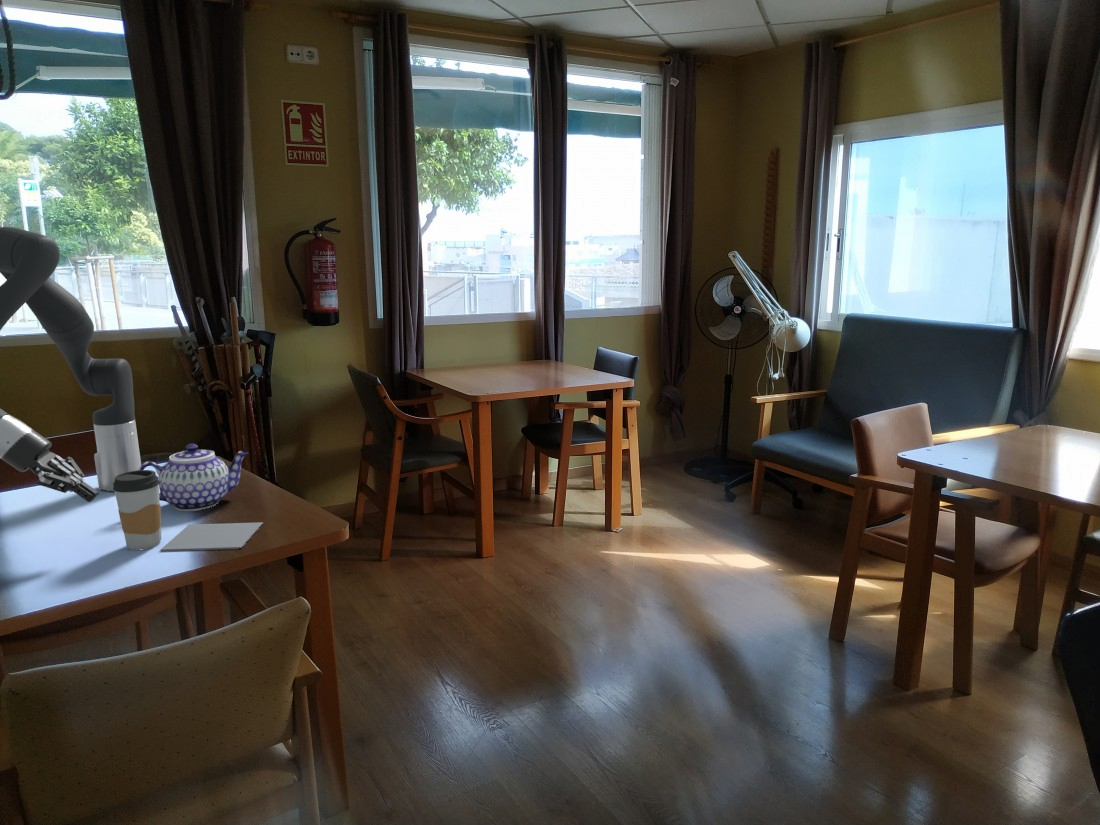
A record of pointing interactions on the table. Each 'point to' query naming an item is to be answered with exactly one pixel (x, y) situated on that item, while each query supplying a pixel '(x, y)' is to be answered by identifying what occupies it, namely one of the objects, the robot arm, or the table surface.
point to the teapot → (196, 478)
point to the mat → (212, 536)
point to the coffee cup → (139, 508)
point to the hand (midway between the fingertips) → (94, 497)
